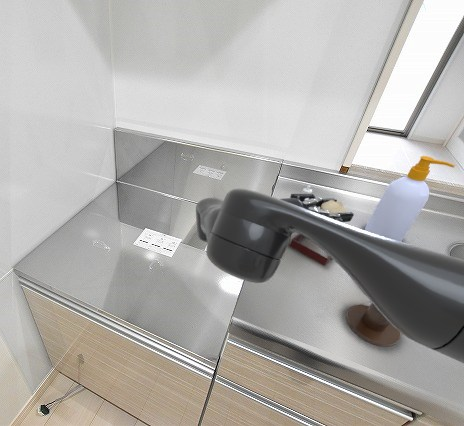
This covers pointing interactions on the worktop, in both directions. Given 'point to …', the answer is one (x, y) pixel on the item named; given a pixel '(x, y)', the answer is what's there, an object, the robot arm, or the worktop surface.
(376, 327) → the candle stand
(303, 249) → the dark red square frame
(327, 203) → the candle
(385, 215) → the soap bottle
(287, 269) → the worktop surface
